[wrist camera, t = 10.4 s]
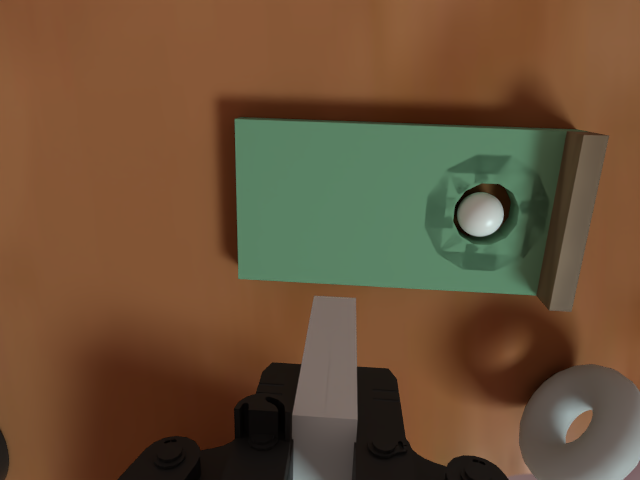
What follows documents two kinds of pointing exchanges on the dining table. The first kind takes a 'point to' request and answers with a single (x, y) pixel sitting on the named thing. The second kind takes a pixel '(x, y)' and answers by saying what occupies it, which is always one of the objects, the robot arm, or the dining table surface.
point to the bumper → (571, 218)
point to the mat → (391, 203)
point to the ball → (480, 214)
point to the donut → (601, 435)
